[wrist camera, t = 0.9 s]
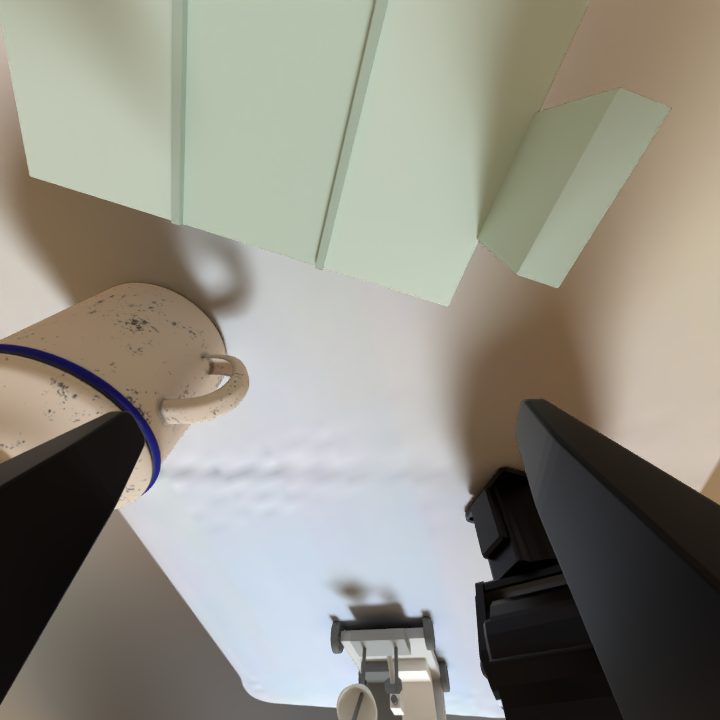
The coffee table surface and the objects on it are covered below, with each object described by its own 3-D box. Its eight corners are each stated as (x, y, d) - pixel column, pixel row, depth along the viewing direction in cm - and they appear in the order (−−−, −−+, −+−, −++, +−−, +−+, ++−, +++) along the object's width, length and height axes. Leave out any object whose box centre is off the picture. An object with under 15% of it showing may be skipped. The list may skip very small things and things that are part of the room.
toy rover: (309, 727, 31) (437, 728, 29) (325, 605, 39) (425, 599, 37) (360, 776, 40) (461, 779, 38) (364, 667, 48) (447, 665, 46)
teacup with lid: (128, 402, 25) (-46, 568, 15) (62, 281, 20) (-254, 402, 10) (288, 398, 24) (216, 573, 14) (256, 267, 19) (115, 389, 9)
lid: (612, 18, 10) (802, -99, 6) (468, 307, 15) (504, 373, 10) (-22, -248, 8) (-501, -727, 4) (47, 175, 13) (-129, 184, 9)
